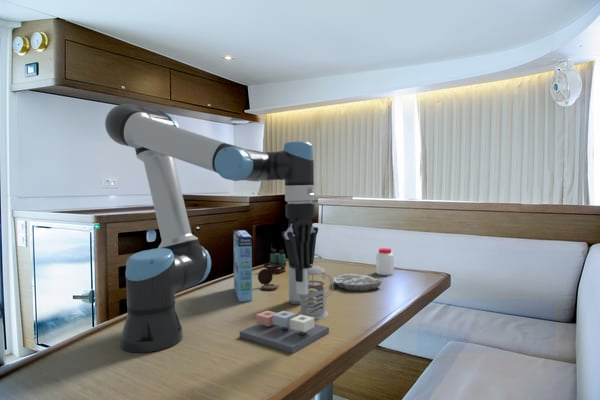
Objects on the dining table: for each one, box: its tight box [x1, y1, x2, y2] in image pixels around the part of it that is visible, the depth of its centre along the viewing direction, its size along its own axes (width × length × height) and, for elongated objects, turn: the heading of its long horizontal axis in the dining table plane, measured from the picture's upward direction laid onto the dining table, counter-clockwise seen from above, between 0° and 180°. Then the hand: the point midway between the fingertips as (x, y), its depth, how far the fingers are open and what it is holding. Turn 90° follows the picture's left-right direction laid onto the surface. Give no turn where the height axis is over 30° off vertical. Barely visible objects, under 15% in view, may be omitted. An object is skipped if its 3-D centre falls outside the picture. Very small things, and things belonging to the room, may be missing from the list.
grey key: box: [273, 310, 297, 330], centre depth 105 cm, size 4×4×4 cm
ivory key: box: [290, 315, 315, 335], centre depth 102 cm, size 4×4×4 cm
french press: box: [296, 263, 334, 320], centre depth 122 cm, size 10×12×25 cm
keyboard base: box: [239, 323, 330, 354], centre depth 105 cm, size 16×18×2 cm
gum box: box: [233, 230, 253, 303], centre depth 145 cm, size 20×5×23 cm, turn 14°
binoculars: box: [263, 248, 287, 274], centre depth 182 cm, size 9×11×10 cm
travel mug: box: [287, 261, 307, 305], centre depth 135 cm, size 6×7×20 cm
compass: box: [257, 268, 279, 292], centre depth 154 cm, size 8×8×7 cm
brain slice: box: [332, 273, 382, 292], centre depth 155 cm, size 20×17×3 cm
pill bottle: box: [375, 247, 395, 276], centre depth 177 cm, size 8×8×11 cm
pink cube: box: [255, 310, 277, 327], centre depth 109 cm, size 4×4×4 cm
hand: (302, 293), depth 101 cm, fingers closed
